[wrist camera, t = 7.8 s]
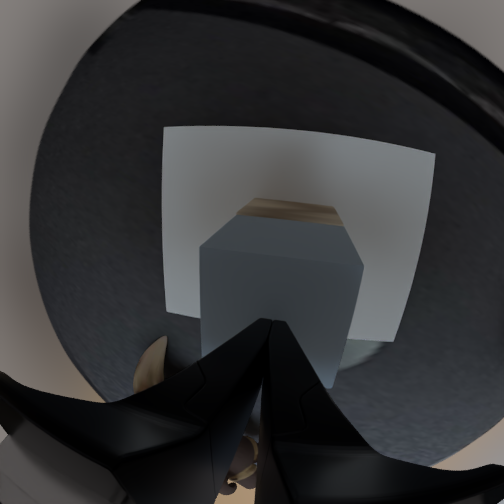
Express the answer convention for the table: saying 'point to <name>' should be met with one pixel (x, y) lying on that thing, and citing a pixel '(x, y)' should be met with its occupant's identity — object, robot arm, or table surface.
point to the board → (304, 191)
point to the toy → (247, 451)
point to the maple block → (291, 211)
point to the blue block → (281, 284)
